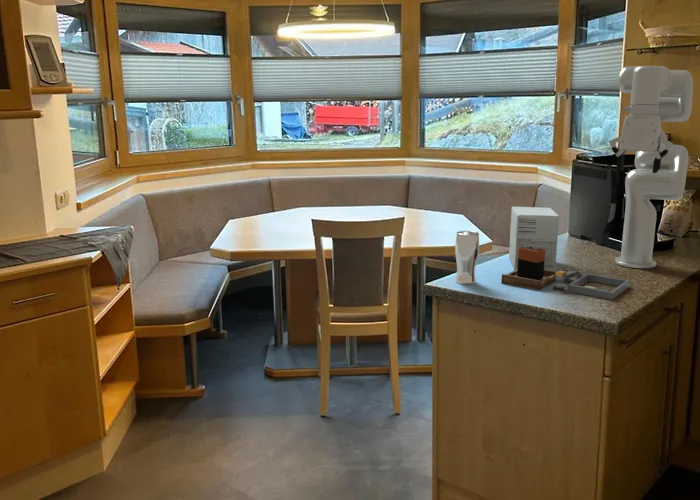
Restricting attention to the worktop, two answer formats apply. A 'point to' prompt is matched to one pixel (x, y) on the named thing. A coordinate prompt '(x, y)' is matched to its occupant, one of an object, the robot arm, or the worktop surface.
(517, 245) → the supplement box
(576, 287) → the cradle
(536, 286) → the wooden tray
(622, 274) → the worktop surface
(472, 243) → the beer glass
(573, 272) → the release key
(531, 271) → the battery
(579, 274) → the key mount
